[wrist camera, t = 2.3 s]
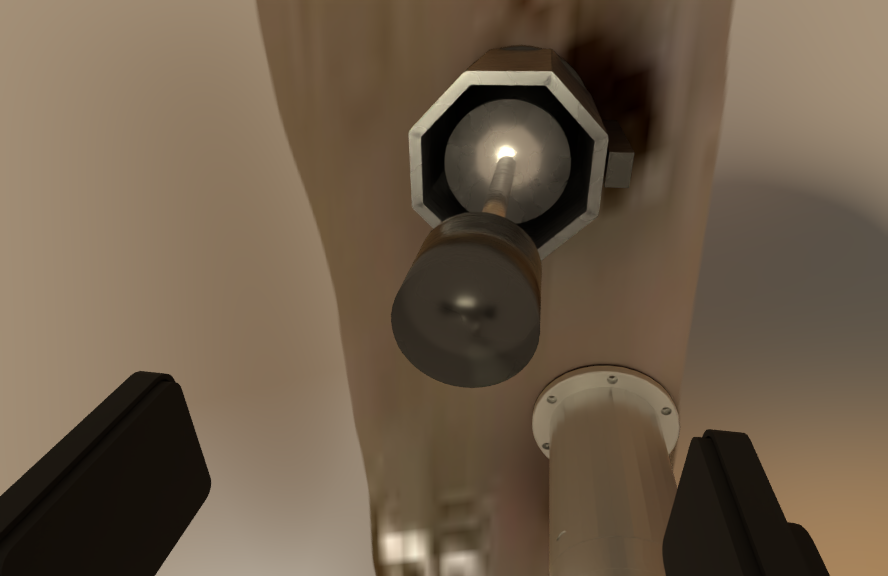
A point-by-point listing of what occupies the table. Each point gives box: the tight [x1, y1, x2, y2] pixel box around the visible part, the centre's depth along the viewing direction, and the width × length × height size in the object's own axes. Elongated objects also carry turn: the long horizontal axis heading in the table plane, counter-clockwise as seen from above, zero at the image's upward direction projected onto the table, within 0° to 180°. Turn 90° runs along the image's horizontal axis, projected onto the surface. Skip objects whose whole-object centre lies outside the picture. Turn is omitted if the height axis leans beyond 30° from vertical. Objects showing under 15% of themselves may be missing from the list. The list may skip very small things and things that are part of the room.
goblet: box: [391, 98, 571, 388], centre depth 21 cm, size 7×7×16 cm
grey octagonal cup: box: [409, 45, 634, 260], centre depth 32 cm, size 10×11×12 cm
